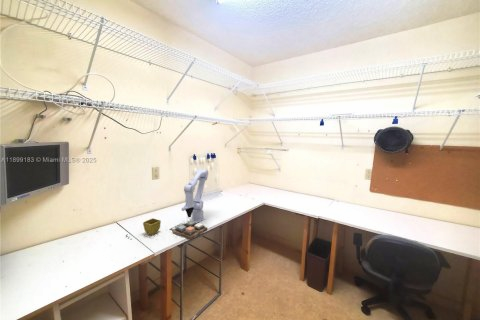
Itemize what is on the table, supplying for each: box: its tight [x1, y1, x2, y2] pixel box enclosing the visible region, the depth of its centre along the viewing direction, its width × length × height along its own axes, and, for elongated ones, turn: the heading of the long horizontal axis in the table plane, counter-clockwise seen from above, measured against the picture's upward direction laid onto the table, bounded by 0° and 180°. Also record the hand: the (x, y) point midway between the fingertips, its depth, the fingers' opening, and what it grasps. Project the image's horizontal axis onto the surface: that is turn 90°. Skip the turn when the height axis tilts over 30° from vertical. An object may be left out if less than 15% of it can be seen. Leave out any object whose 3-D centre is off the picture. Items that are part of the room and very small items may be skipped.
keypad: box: [171, 223, 208, 241], centre depth 147 cm, size 18×18×4 cm
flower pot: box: [142, 218, 162, 236], centre depth 143 cm, size 9×9×9 cm
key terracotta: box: [186, 226, 195, 233], centre depth 141 cm, size 4×4×2 cm
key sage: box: [185, 220, 195, 226], centre depth 153 cm, size 4×4×2 cm
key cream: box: [194, 222, 204, 228], centre depth 149 cm, size 4×4×2 cm
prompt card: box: [169, 222, 185, 231], centre depth 154 cm, size 12×4×1 cm, turn 151°
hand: (189, 216), depth 154 cm, fingers closed
